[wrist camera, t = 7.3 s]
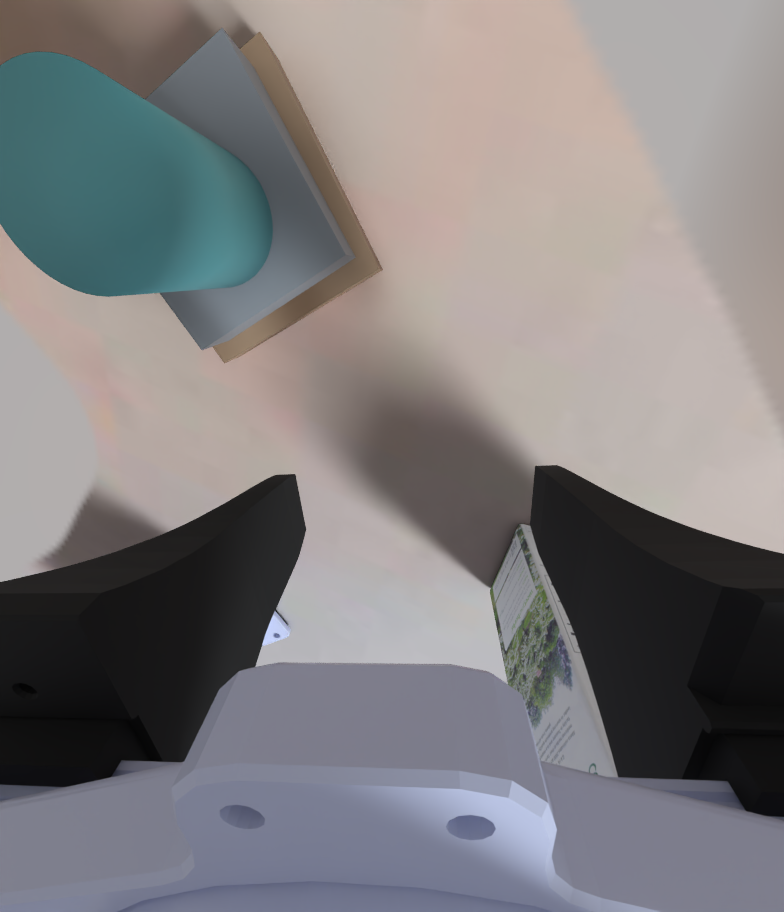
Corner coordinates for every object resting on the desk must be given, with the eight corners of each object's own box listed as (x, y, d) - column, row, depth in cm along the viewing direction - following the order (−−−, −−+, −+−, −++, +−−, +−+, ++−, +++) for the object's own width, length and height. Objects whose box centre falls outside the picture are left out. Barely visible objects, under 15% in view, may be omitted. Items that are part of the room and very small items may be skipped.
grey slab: (228, 340, 18) (201, 350, 16) (119, 184, 16) (69, 169, 14) (355, 257, 16) (345, 254, 14) (253, 67, 14) (222, 27, 12)
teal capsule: (207, 310, 15) (88, 331, 10) (125, 195, 14) (-69, 145, 8) (297, 245, 14) (217, 228, 9) (217, 112, 13) (60, -10, 7)
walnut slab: (245, 353, 21) (224, 363, 19) (134, 187, 18) (92, 175, 16) (383, 269, 19) (378, 269, 17) (282, 65, 16) (259, 31, 14)
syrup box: (570, 607, 26) (723, 946, 13) (484, 589, 26) (551, 913, 13) (608, 539, 24) (845, 872, 10) (514, 519, 23) (634, 830, 10)
